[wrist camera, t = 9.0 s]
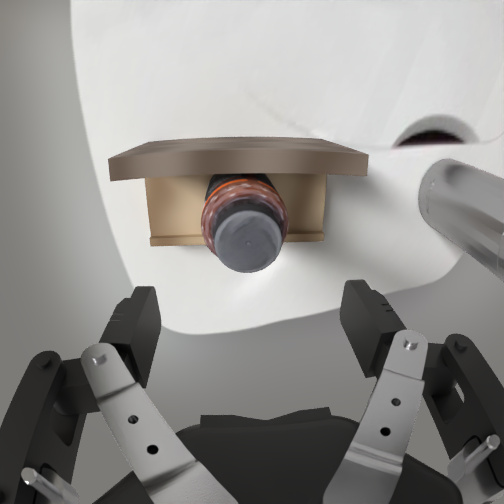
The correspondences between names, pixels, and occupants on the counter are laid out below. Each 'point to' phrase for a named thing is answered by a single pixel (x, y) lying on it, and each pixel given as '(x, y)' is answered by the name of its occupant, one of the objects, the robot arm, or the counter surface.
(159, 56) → the counter surface
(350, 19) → the counter surface
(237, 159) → the cleat board
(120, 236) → the counter surface
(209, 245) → the supplement bottle
